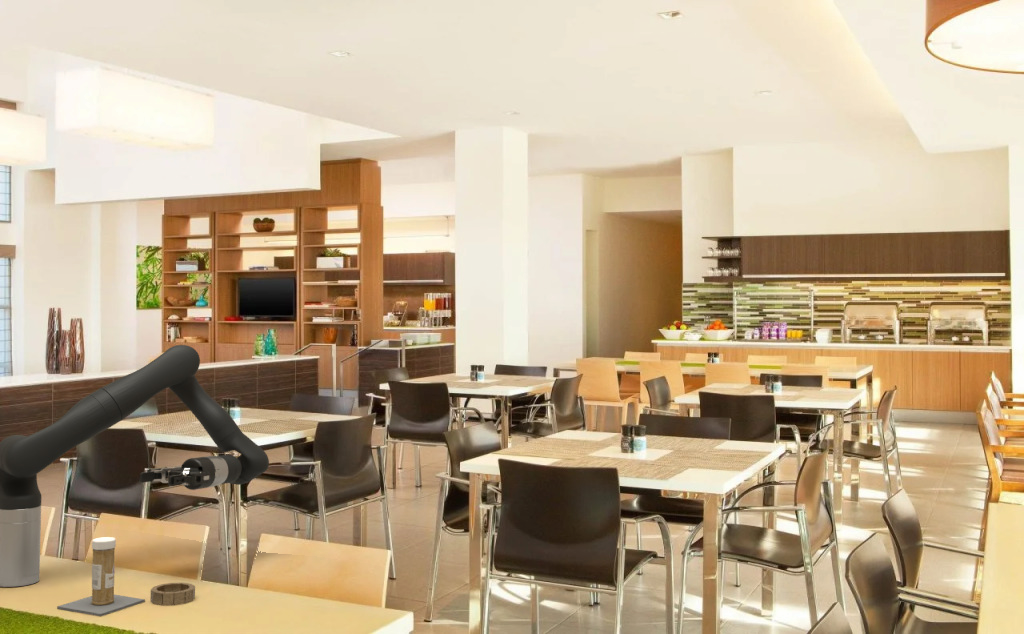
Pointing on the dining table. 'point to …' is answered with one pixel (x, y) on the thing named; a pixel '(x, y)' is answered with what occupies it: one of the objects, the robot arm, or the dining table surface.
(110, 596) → the sprinkles bottle
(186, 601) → the ring holder
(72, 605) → the rubber mat
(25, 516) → the robot arm
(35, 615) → the dining table surface
